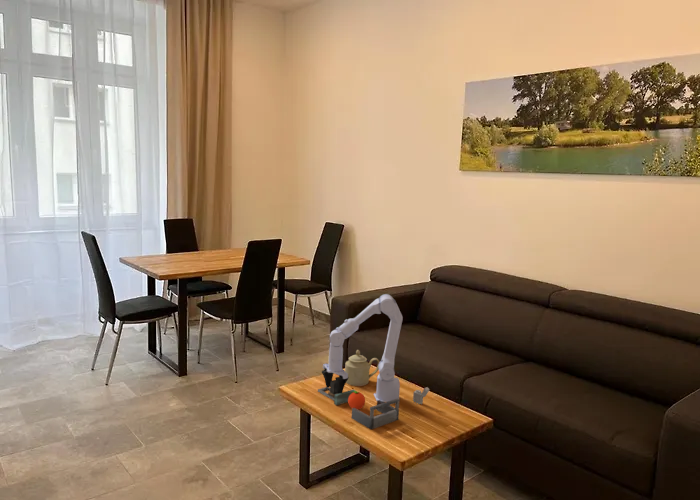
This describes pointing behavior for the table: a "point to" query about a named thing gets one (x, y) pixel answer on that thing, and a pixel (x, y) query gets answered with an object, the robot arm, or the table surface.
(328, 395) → the track
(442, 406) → the table surface
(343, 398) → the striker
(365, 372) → the beige teapot
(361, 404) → the tomato
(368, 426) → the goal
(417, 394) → the lighter
